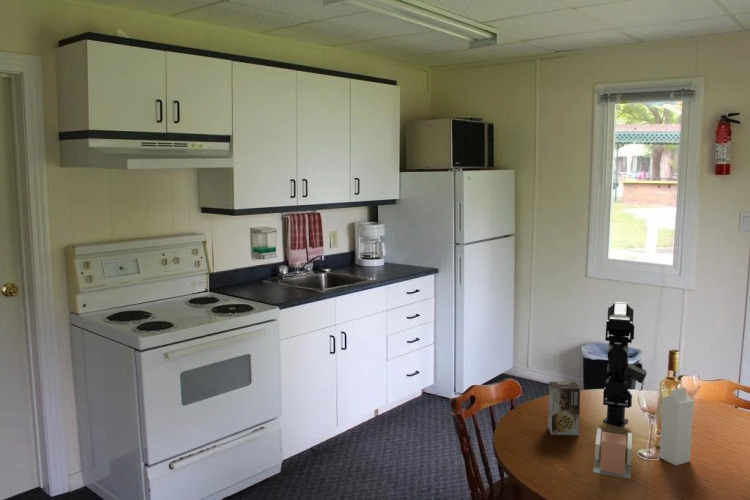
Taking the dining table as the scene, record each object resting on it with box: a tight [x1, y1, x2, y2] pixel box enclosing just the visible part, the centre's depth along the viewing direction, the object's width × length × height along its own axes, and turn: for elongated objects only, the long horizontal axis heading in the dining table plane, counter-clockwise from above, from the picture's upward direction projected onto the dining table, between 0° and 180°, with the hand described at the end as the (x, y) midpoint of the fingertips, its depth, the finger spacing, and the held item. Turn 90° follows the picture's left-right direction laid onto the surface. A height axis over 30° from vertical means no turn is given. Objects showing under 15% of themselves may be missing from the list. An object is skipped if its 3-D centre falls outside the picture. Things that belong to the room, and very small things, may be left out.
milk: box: [658, 387, 695, 466], centre depth 186 cm, size 6×6×22 cm
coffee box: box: [547, 381, 581, 436], centre depth 207 cm, size 9×6×16 cm
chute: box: [593, 427, 633, 480], centre depth 187 cm, size 20×10×5 cm, turn 158°
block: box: [599, 431, 627, 475], centre depth 182 cm, size 7×6×9 cm
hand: (615, 403), depth 200 cm, fingers closed
